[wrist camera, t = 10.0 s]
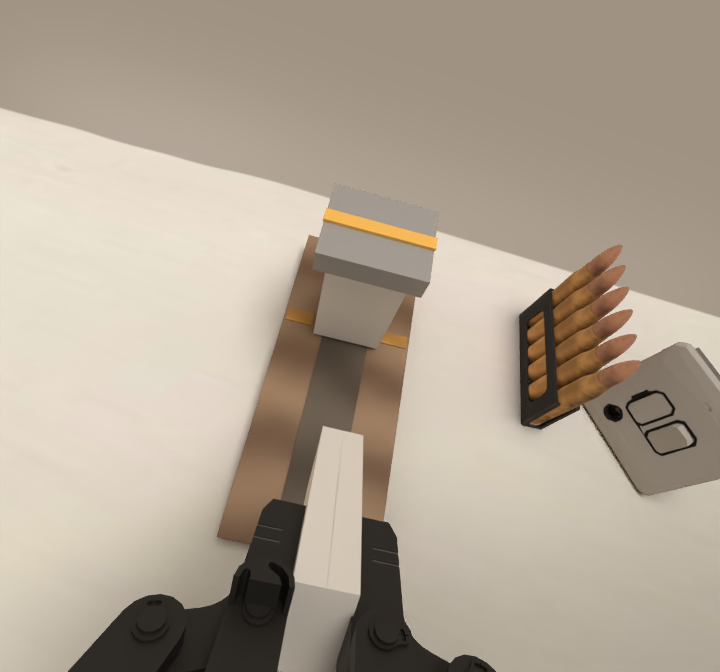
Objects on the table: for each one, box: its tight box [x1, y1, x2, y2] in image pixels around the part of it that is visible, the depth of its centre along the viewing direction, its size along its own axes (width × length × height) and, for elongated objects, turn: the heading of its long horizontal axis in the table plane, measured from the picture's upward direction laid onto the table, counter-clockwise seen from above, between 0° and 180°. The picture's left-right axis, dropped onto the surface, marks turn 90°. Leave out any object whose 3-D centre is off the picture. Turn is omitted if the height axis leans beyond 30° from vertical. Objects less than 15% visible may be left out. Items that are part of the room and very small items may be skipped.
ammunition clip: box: [519, 245, 641, 429], centre depth 32 cm, size 11×2×12 cm, turn 171°
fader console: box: [217, 235, 415, 544], centre depth 33 cm, size 24×10×2 cm, turn 169°
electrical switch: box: [584, 342, 720, 495], centre depth 33 cm, size 9×5×9 cm, turn 24°
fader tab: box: [312, 183, 439, 349], centre depth 29 cm, size 5×6×11 cm
